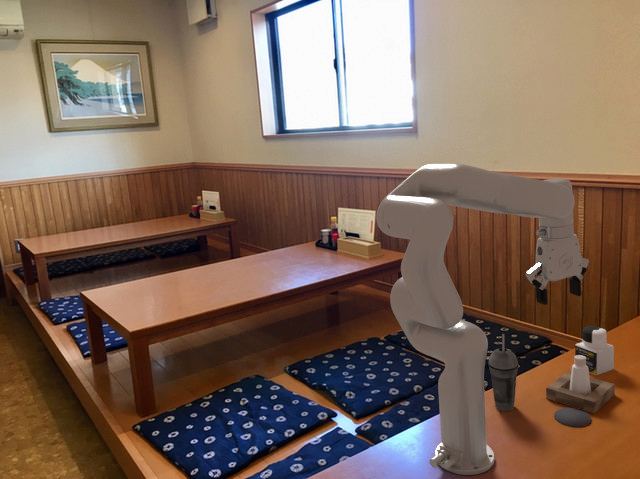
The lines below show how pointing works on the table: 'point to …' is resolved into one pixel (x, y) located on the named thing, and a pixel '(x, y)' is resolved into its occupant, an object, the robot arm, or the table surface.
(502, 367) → the beverage cup
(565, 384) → the board
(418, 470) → the table surface
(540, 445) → the table surface
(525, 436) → the table surface
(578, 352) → the medicine bottle
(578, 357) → the pepper shaker
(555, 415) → the coaster
